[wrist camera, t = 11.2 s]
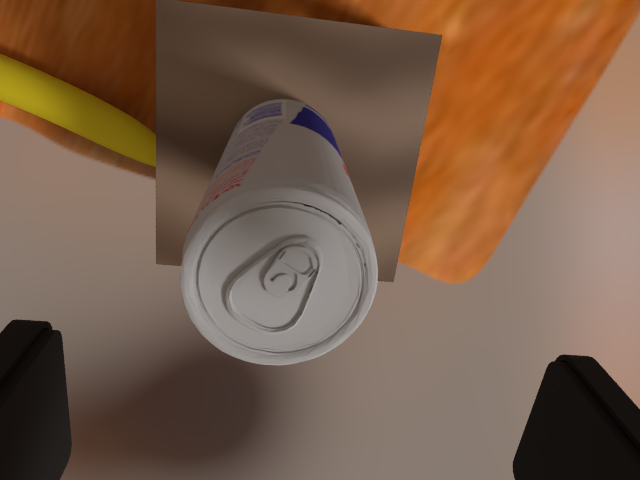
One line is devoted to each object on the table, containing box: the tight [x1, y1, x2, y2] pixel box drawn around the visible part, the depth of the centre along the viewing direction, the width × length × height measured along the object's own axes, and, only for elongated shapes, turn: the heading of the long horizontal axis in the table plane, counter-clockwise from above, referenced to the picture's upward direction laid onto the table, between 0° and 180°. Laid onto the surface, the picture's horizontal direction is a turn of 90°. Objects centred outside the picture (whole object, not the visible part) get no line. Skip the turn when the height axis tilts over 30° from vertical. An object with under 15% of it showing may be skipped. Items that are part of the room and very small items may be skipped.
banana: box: [0, 54, 156, 167], centre depth 33 cm, size 3×19×6 cm, turn 64°
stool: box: [155, 0, 442, 282], centre depth 32 cm, size 14×14×10 cm
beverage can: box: [180, 99, 378, 365], centre depth 21 cm, size 6×6×15 cm
